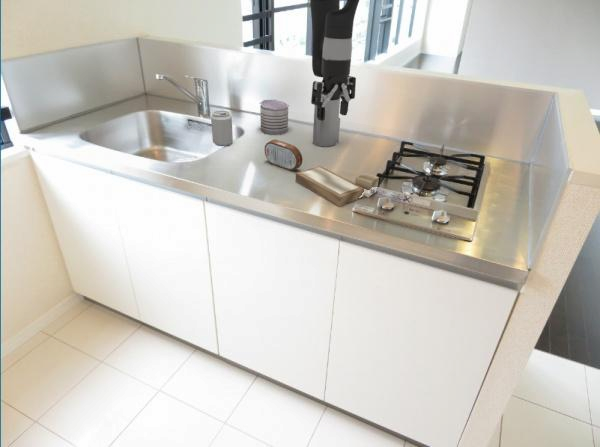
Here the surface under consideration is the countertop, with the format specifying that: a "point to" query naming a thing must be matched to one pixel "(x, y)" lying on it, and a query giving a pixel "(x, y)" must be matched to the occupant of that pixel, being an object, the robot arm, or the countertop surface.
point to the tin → (283, 154)
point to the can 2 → (274, 117)
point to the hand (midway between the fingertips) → (332, 117)
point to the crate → (367, 181)
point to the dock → (329, 185)
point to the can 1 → (222, 128)
